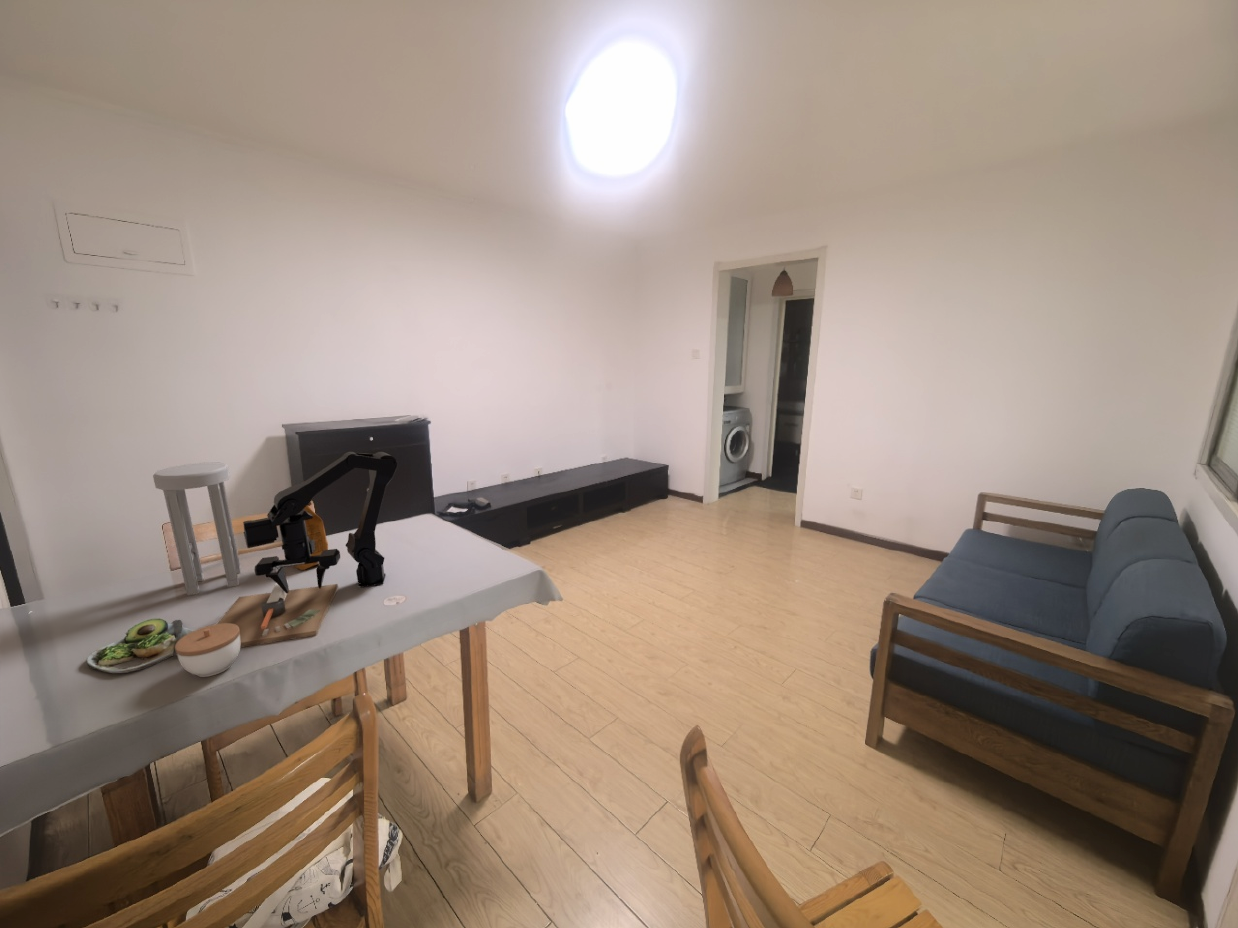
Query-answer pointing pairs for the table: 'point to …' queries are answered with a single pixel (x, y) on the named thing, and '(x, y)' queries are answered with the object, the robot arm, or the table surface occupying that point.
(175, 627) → the salad plate
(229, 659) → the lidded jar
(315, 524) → the coffee package
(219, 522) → the stool
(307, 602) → the cutting board
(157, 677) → the table surface
